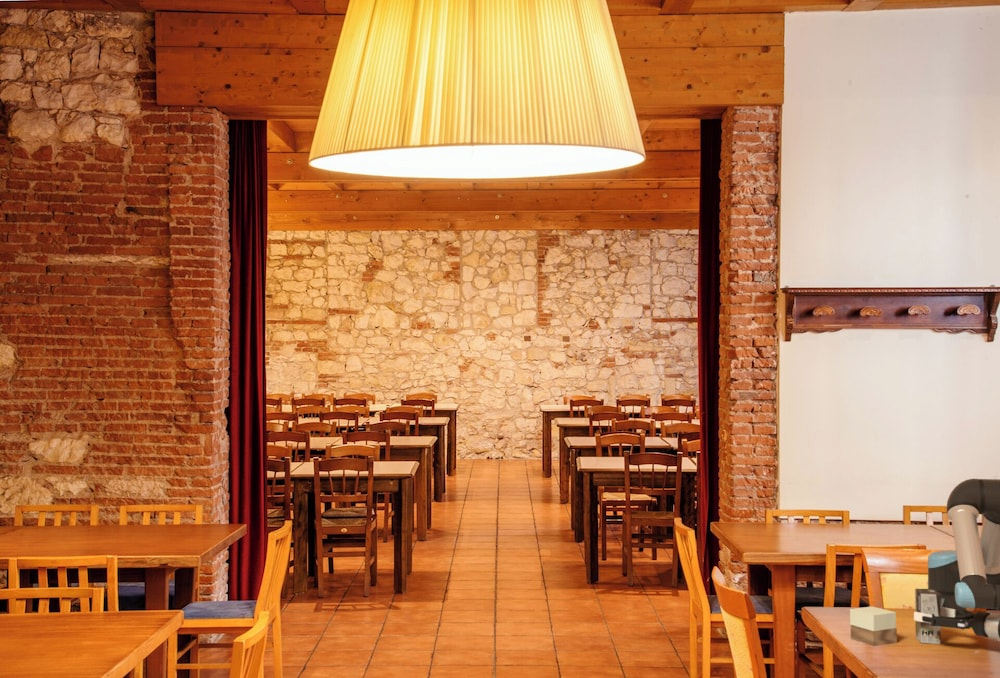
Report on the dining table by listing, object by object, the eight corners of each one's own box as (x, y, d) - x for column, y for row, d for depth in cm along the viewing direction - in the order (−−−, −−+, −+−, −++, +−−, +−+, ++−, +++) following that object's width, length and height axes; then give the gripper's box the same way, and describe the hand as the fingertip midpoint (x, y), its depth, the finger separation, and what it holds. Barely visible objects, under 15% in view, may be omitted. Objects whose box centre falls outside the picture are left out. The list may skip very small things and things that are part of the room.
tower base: (873, 636, 346) (873, 621, 346) (896, 643, 337) (896, 628, 337) (850, 639, 342) (850, 624, 342) (873, 646, 333) (873, 631, 333)
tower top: (872, 621, 347) (872, 606, 347) (896, 628, 338) (895, 612, 338) (850, 624, 342) (850, 609, 342) (873, 631, 333) (873, 615, 333)
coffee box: (941, 644, 336) (941, 594, 336) (920, 643, 337) (920, 593, 337) (935, 637, 344) (935, 588, 345) (915, 636, 346) (914, 587, 346)
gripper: (969, 643, 317) (905, 630, 333) (1008, 631, 332) (945, 619, 349) (969, 618, 317) (905, 606, 334) (1008, 608, 333) (945, 596, 349)
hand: (925, 613), depth 341 cm, fingers open, 13 cm apart
